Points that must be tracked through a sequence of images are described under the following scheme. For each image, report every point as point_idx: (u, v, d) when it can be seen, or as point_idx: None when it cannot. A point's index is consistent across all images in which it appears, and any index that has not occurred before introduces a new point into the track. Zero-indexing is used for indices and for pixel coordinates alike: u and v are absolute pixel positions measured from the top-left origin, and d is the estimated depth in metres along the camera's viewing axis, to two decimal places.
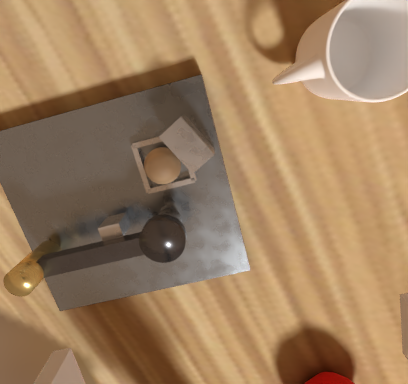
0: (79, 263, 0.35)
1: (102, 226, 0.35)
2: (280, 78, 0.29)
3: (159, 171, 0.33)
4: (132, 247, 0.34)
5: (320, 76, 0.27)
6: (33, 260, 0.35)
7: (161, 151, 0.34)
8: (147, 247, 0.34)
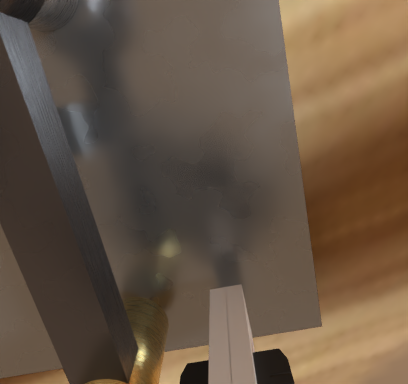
0: (64, 273, 0.10)
1: None
2: None
3: None
4: None
5: None
6: None
7: None
8: None
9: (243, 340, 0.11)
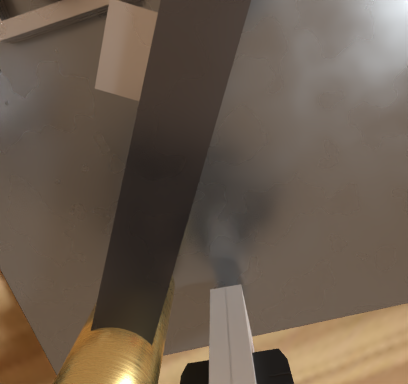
0: (163, 213, 0.09)
1: (101, 71, 0.10)
2: None
3: None
4: None
5: None
6: (84, 333, 0.10)
7: None
8: None
9: (242, 340, 0.12)
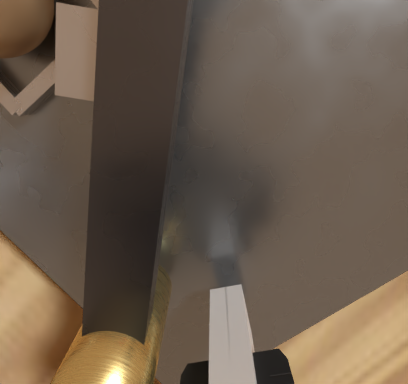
0: (135, 212, 0.09)
1: (59, 76, 0.10)
2: None
3: None
4: None
5: None
6: (76, 339, 0.11)
7: None
8: None
9: (243, 340, 0.11)
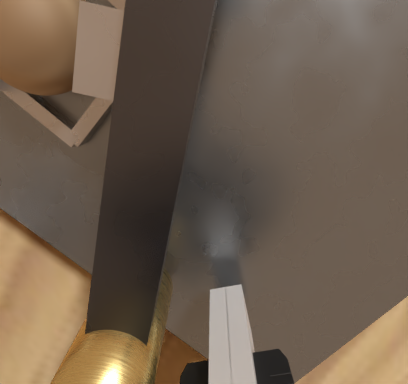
0: (147, 212, 0.09)
1: (77, 74, 0.10)
2: None
3: (7, 22, 0.09)
4: None
5: None
6: (79, 336, 0.11)
7: None
8: None
9: (243, 340, 0.11)
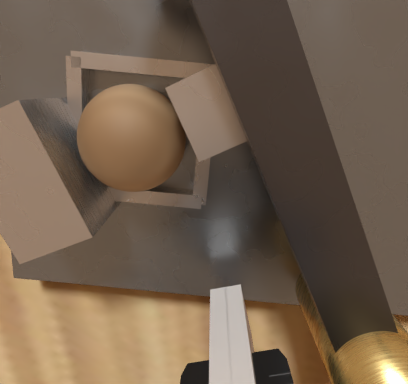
0: (331, 216, 0.09)
1: (192, 145, 0.10)
2: None
3: (120, 144, 0.10)
4: None
5: None
6: (330, 357, 0.11)
7: (110, 186, 0.12)
8: None
9: (242, 340, 0.11)
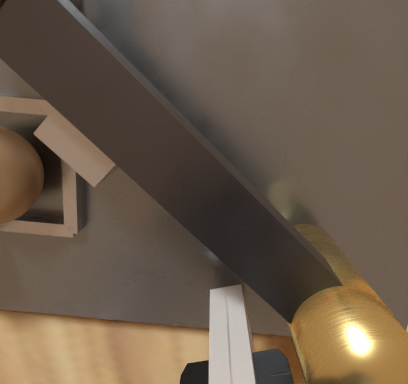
0: (218, 197, 0.09)
1: (85, 174, 0.11)
2: None
3: None
4: (26, 36, 0.08)
5: None
6: (290, 330, 0.10)
7: None
8: None
9: (242, 340, 0.12)
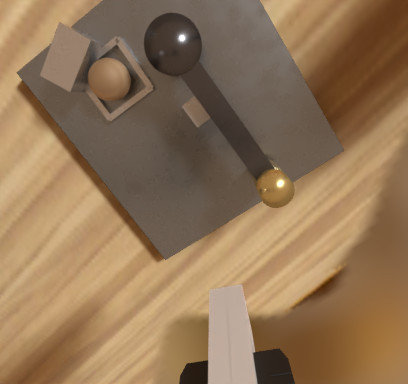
0: (240, 133, 0.29)
1: (194, 123, 0.31)
2: None
3: (104, 79, 0.30)
4: (194, 79, 0.28)
5: None
6: (256, 184, 0.31)
7: (89, 84, 0.31)
8: (186, 60, 0.27)
9: (243, 340, 0.11)
